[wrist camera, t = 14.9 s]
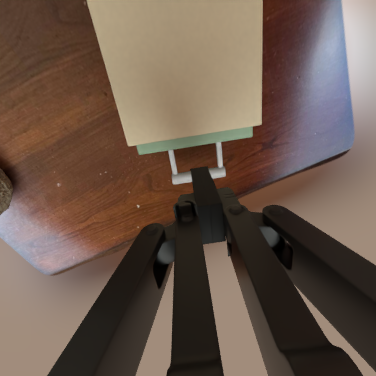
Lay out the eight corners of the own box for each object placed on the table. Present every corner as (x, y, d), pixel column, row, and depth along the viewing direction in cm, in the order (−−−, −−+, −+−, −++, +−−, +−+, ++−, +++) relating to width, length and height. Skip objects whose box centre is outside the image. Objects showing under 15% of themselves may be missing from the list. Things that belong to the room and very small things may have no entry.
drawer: (236, 162, 30) (253, 181, 23) (157, 174, 30) (149, 197, 23) (228, -5, 22) (250, -56, 15) (120, 15, 22) (90, -25, 15)
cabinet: (236, 117, 28) (261, 124, 19) (144, 132, 29) (127, 146, 20) (229, -30, 22) (264, -122, 13) (110, -8, 22) (63, -81, 13)
